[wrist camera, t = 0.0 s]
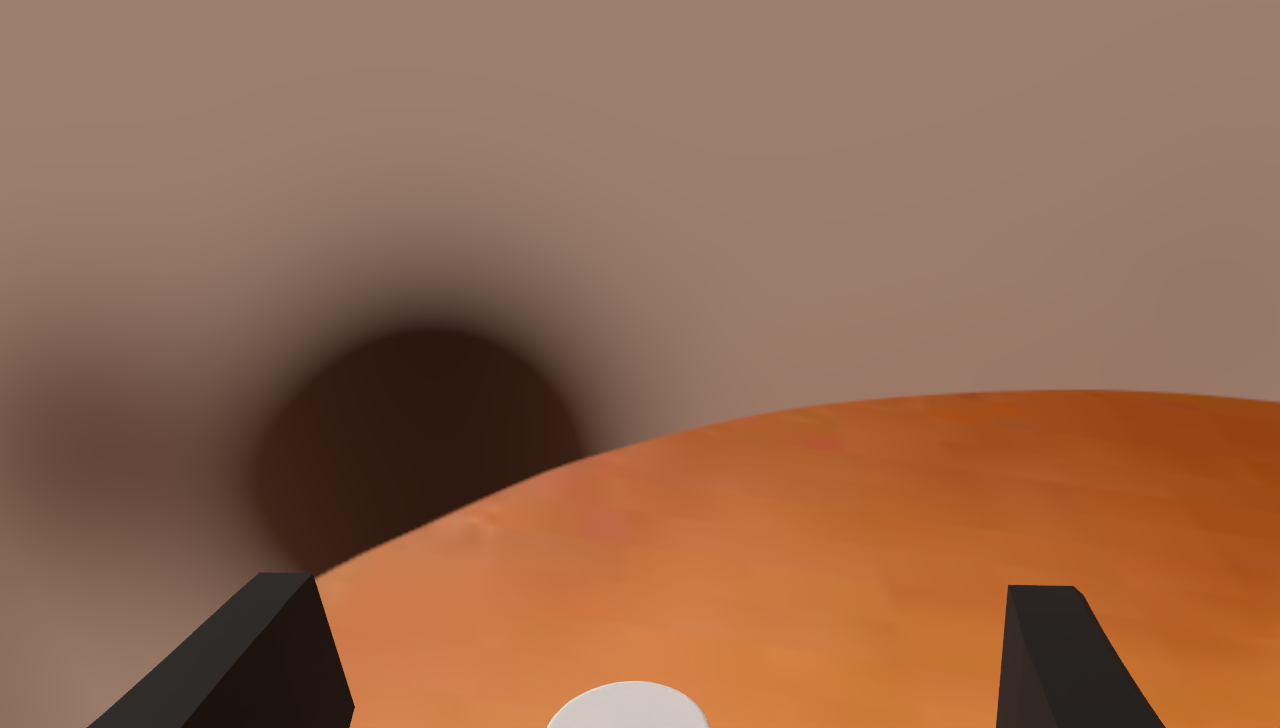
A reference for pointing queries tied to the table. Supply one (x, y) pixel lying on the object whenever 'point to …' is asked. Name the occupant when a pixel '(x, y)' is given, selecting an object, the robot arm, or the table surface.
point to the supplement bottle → (630, 708)
